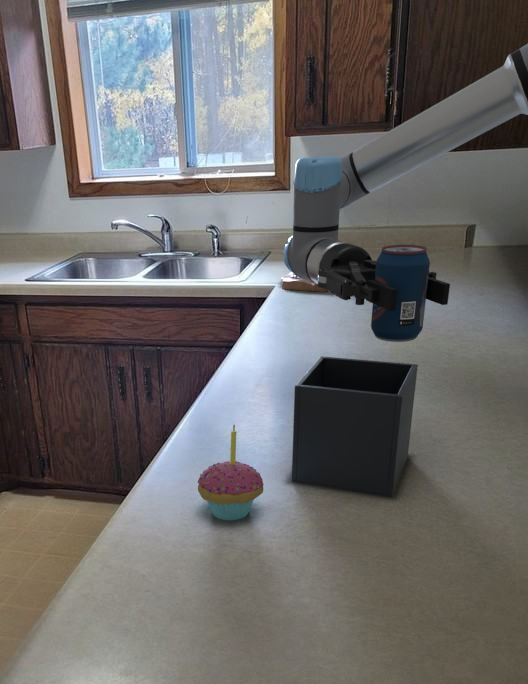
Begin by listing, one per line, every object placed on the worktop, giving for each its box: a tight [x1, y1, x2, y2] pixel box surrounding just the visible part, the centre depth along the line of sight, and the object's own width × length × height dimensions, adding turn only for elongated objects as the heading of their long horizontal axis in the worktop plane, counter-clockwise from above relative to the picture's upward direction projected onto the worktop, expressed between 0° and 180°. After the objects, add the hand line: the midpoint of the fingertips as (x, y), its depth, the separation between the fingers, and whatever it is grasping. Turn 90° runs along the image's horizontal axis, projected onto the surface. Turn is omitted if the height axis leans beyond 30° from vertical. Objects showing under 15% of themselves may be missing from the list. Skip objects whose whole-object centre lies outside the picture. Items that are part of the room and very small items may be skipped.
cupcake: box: [197, 424, 264, 521], centre depth 95 cm, size 9×8×12 cm
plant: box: [281, 271, 329, 293], centre depth 220 cm, size 20×20×11 cm
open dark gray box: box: [291, 356, 419, 498], centre depth 104 cm, size 14×14×15 cm
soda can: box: [370, 244, 431, 343], centre depth 101 cm, size 7×7×12 cm
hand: (420, 297), depth 96 cm, fingers closed on soda can, 7 cm apart
